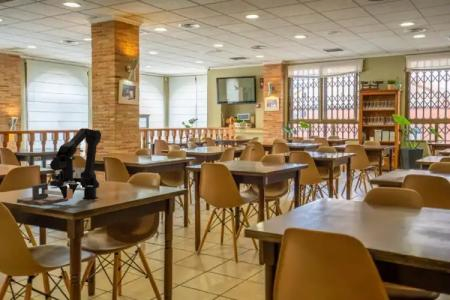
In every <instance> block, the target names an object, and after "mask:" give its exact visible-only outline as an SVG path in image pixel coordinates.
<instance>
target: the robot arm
mask: <svg viewBox="0 0 450 300" xmlns="http://www.w3.org/2000/svg"><path fill="white" fill-rule="evenodd" d="M101 138H102V132H101V131H100V130H99V129H90V128H88V127H85V128H83V127H82V128H80V129H79V131H78V132H76V134H75V135H74V136H73V137H72V138H71V139H70V140H69V141H68V142H64V143H62V145H60V146H59V149H58V151H57V153H56V156H55V157H52V160H51V161H50V164H49V166H50V169H51V170H52V171H56V170H62V171H60V174H56V173H55V172H54V173H52V174H51V179H52V180H51V181H50V183H49V184H50V186H51V187H56V188H58V189H59V191H61V192H62V195H63V196H62V197H64V198H66V194H67V189H73V195H74V193H75V191H76V190H77V188H78V187H79V185H80V183H81V186H82V187H81V188H84V191H83V197H82V199H85V200H93V199H98V198H99V196H97V189H98V188H100V183H99V181H98V179H97V174H96V172H95V164H96V162H95V161H96V153H97V147H98V145H99V143H100V142H101ZM84 140H85V142H86V143H87V148H86V158H85V166H84V171H83V172H81V176H80V177H79V176H75V177H74V178H73V172H75V170H73V167H74V160H76V157H74V155H75V154H76V152H77V149H78V146H79V145H80V144H81V143H82V142H83V141H84ZM66 185H68V186H66ZM68 187H69V188H68Z"/></svg>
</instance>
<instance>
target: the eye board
mask: <svg viewBox="0 0 450 300" xmlns="http://www.w3.org/2000/svg"><path fill="white" fill-rule="evenodd" d="M31 187H32V190H31V191H32V195H31V196H28V197H23V198H17V199H16V203H21V202H22V204H30V205H36V204H37V205H39V206H45V205H50V204H56V203H62V202H65V201H69V199H63V196H60V195H51V194H44V190H49V185H48V183H40V184H33V185H31ZM40 189H41V193H40ZM37 205H36V206H37Z"/></svg>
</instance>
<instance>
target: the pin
mask: <svg viewBox="0 0 450 300" xmlns="http://www.w3.org/2000/svg"><path fill="white" fill-rule="evenodd" d="M44 194H48V195H51V196H60V197H63V195H62V192H61V190H55V189H48V190H44ZM63 199H68V200H72V199H74V194H73V189H69V188H67V194H66V198H64V197H63Z"/></svg>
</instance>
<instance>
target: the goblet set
mask: <svg viewBox="0 0 450 300" xmlns="http://www.w3.org/2000/svg"><path fill="white" fill-rule="evenodd" d="M73 170H75V172H73V178H74V177H76V175H77V177H80V176H81V172H83V171H84V170H85V166H84V167H83V166H81V167H79V166H77V167H76V166H73ZM60 171H62V170H55V172H54V173H56V174H60ZM79 185H80V186H79ZM79 185H78V188H82V186H81V183H79ZM66 186H68V187H69V185H68V184H66Z"/></svg>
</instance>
